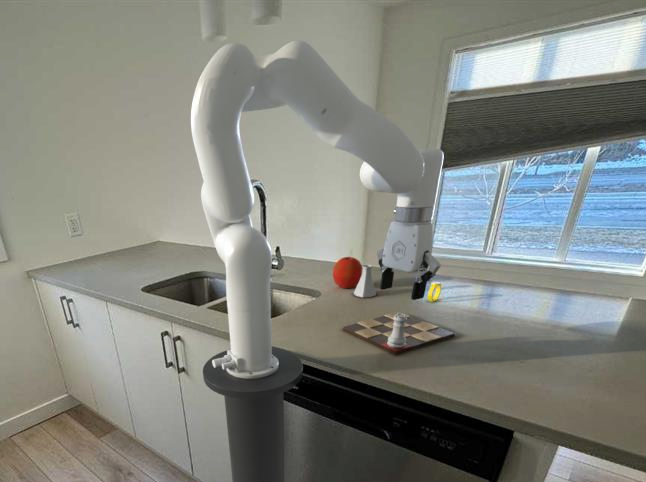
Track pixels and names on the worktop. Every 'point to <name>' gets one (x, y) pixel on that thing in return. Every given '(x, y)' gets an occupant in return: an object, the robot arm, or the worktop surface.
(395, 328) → the rook chess piece
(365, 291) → the flask
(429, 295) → the yellow ring
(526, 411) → the worktop surface
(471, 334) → the worktop surface
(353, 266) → the apple
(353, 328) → the board
